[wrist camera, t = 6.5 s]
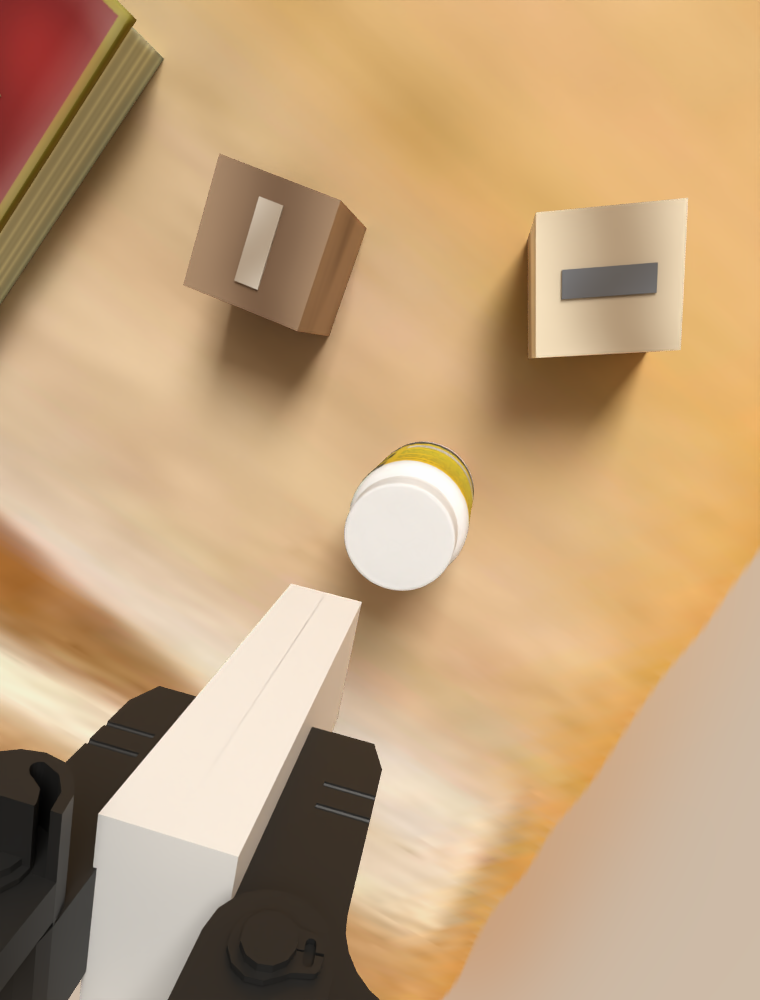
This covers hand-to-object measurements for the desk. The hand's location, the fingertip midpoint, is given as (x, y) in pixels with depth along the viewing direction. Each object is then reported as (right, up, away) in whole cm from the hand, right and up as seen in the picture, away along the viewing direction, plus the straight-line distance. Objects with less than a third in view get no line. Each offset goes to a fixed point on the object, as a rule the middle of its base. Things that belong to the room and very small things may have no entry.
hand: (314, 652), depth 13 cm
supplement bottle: (+4, +4, +17) cm, 18 cm away
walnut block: (-2, +14, +16) cm, 21 cm away
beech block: (+10, +12, +14) cm, 21 cm away
